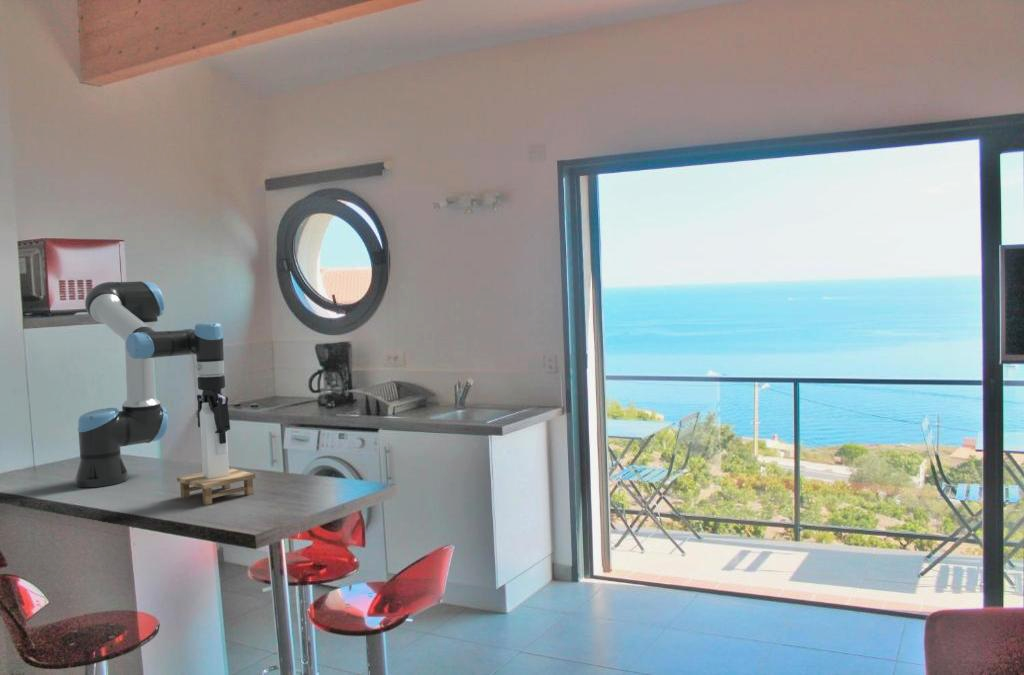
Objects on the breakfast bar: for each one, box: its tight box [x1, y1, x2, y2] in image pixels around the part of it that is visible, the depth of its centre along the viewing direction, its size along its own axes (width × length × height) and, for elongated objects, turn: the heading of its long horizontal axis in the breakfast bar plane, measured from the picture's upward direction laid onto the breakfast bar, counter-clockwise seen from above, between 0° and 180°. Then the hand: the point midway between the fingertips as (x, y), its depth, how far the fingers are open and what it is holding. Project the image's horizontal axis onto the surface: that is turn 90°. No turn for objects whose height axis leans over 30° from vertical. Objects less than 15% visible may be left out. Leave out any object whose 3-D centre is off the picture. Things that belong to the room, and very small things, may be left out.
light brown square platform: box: [176, 467, 256, 506], centre depth 235 cm, size 16×16×6 cm
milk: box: [199, 402, 230, 479], centre depth 234 cm, size 6×6×22 cm
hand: (215, 452), depth 234 cm, fingers closed on milk, 7 cm apart
